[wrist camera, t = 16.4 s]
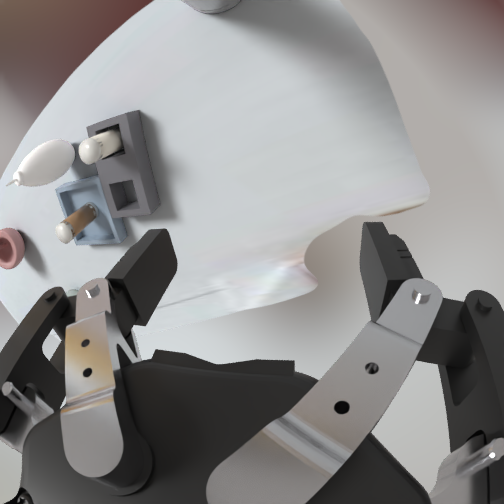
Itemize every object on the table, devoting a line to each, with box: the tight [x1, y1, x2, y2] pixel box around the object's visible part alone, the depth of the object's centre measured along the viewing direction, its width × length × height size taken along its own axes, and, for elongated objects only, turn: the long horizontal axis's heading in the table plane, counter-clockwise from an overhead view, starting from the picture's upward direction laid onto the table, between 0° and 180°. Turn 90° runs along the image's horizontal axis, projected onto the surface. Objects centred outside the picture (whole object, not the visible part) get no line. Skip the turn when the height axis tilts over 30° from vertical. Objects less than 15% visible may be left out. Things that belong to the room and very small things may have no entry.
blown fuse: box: [56, 202, 99, 244], centre depth 47 cm, size 4×4×10 cm
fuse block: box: [87, 110, 160, 218], centre depth 43 cm, size 18×9×4 cm, turn 7°
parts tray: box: [55, 175, 128, 245], centre depth 50 cm, size 14×14×3 cm
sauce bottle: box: [6, 139, 75, 187], centre depth 37 cm, size 8×8×18 cm
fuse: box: [79, 127, 124, 164], centre depth 38 cm, size 4×4×10 cm
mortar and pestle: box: [0, 228, 25, 269], centre depth 57 cm, size 12×12×12 cm
